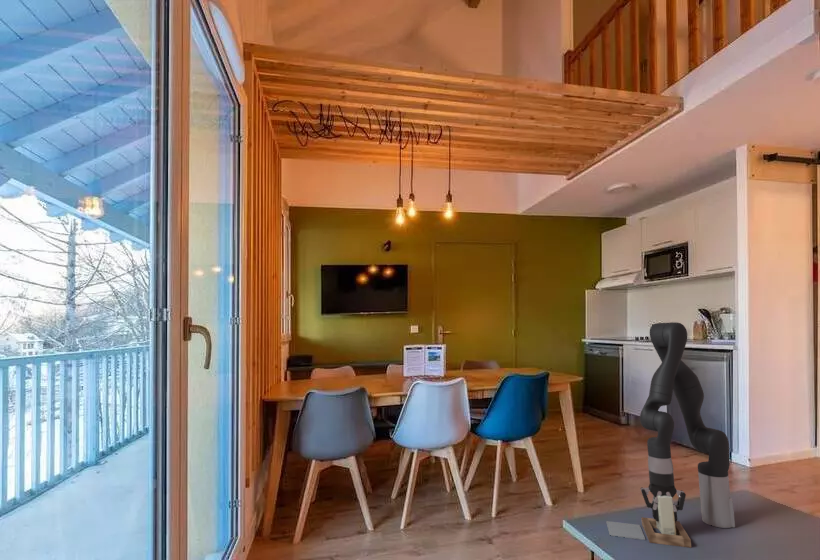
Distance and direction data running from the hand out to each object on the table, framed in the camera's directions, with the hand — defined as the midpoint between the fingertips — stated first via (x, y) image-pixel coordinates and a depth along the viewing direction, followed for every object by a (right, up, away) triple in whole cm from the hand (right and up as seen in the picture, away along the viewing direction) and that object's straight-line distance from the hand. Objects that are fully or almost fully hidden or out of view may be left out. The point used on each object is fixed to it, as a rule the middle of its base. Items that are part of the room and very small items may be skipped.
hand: (665, 520), depth 151 cm
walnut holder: (0, -5, -1) cm, 5 cm away
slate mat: (-12, -5, +3) cm, 14 cm away
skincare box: (0, -4, 0) cm, 4 cm away
